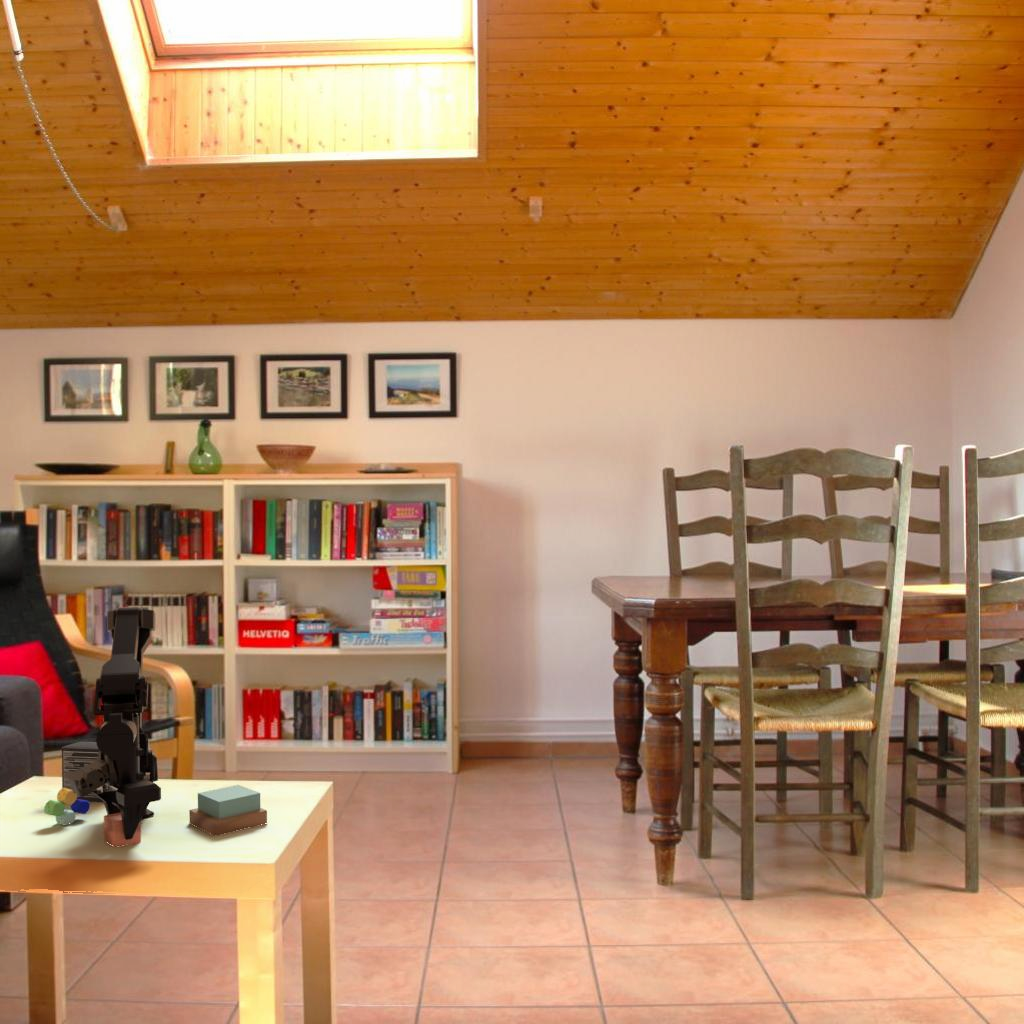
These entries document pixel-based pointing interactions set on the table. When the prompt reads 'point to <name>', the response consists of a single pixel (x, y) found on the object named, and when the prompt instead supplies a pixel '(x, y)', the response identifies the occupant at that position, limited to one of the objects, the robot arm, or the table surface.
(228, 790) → the tower top
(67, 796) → the multicolored block cluster
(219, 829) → the tower base
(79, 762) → the small box
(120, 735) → the robot arm
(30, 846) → the table surface
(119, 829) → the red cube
